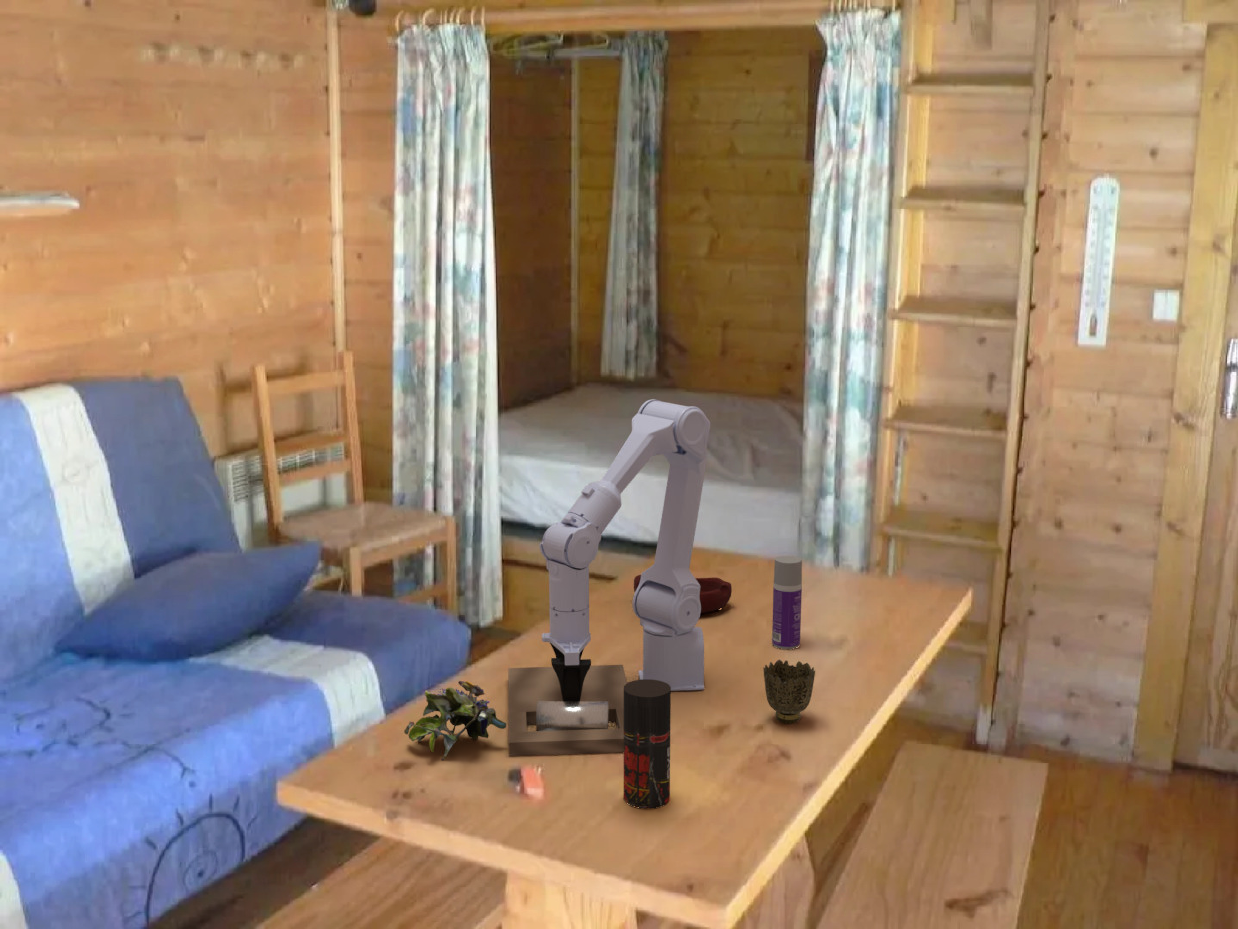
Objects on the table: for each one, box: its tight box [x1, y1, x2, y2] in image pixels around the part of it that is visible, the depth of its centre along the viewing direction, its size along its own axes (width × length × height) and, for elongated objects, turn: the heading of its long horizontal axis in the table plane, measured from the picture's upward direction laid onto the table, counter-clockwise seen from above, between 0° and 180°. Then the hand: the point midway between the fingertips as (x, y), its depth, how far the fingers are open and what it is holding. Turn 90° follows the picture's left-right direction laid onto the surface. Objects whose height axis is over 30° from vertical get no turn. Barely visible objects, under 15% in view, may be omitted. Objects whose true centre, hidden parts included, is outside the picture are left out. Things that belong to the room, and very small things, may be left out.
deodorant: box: [623, 679, 672, 809], centre depth 174 cm, size 6×6×15 cm
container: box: [771, 555, 803, 650], centre depth 228 cm, size 5×5×15 cm
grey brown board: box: [507, 664, 628, 757], centre depth 202 cm, size 18×28×2 cm, turn 5°
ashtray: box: [633, 574, 733, 614], centre depth 248 cm, size 18×16×5 cm
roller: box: [535, 701, 609, 731], centre depth 194 cm, size 10×5×5 cm, turn 89°
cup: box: [762, 659, 816, 725], centre depth 198 cm, size 8×7×8 cm
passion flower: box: [403, 680, 507, 761], centre depth 189 cm, size 11×11×12 cm
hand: (570, 694), depth 200 cm, fingers open, 7 cm apart
